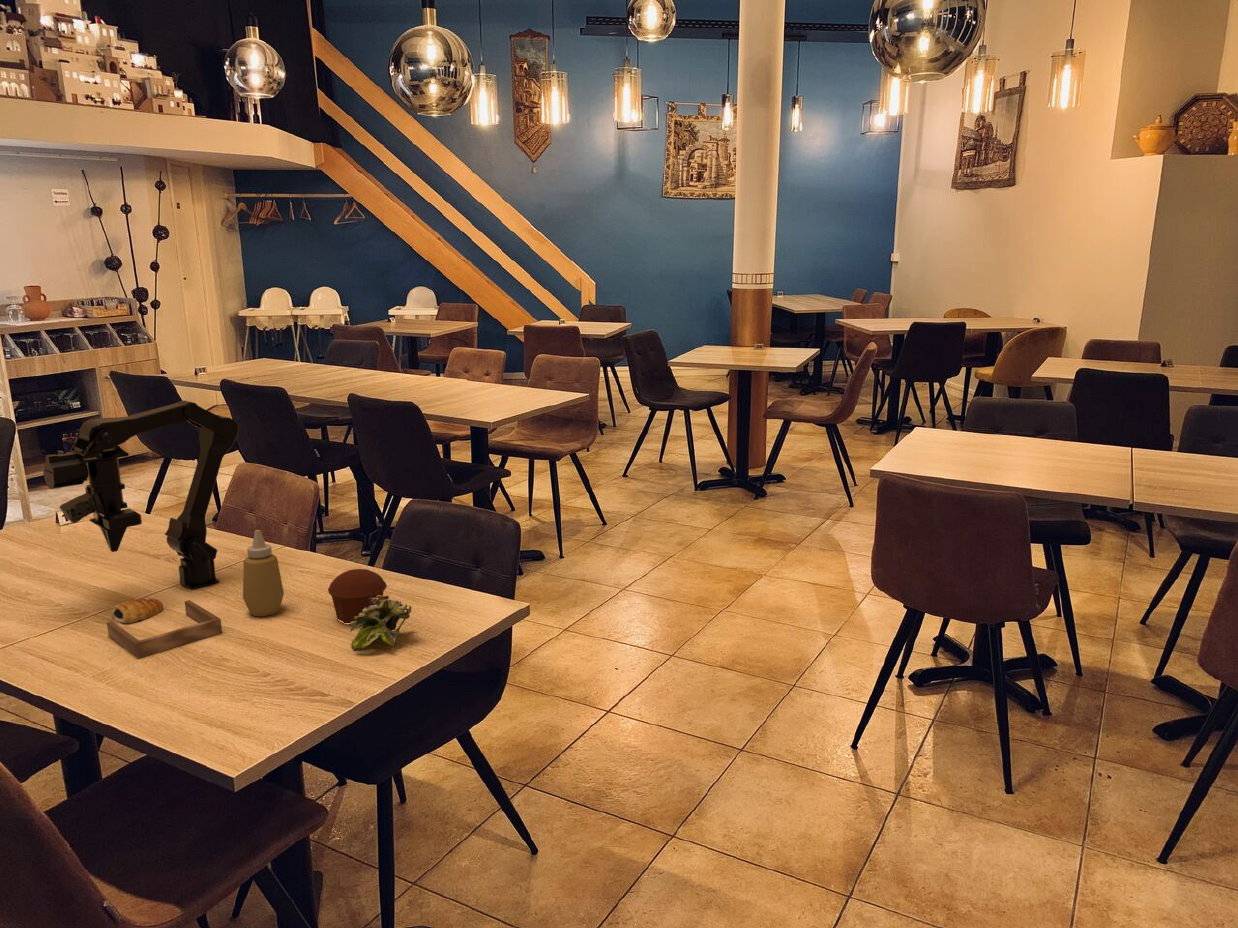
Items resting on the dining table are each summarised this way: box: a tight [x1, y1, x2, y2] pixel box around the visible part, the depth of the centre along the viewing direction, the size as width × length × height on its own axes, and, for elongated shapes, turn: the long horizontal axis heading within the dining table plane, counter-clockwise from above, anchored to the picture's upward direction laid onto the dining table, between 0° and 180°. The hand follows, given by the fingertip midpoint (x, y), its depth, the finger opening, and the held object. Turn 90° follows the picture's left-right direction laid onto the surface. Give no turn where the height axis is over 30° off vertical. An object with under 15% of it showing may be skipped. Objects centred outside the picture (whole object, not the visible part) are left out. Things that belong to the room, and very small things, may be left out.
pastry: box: [111, 598, 164, 624], centre depth 187 cm, size 9×7×4 cm
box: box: [106, 599, 223, 659], centre depth 178 cm, size 16×14×3 cm
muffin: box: [327, 568, 388, 623], centre depth 186 cm, size 12×11×10 cm
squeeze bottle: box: [242, 529, 285, 617], centre depth 188 cm, size 8×8×18 cm
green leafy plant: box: [349, 594, 412, 651], centre depth 174 cm, size 11×11×12 cm
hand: (114, 551), depth 191 cm, fingers closed
